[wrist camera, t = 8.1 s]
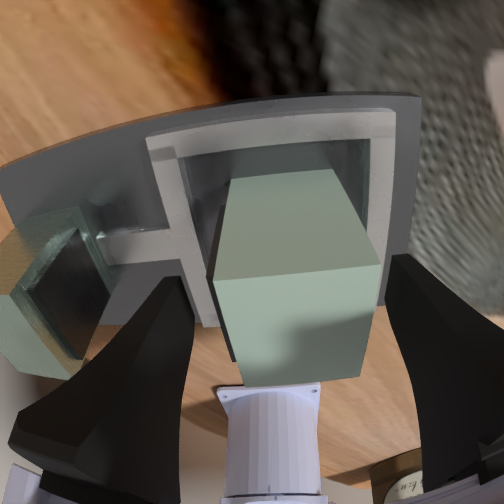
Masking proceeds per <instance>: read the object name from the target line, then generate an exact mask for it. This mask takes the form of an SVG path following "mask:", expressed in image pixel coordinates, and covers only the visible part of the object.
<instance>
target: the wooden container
mask: <svg viewBox="0 0 504 504" xmlns="http://www.w3.org/2000/svg"><path fill="white" fill-rule="evenodd" d="M370 479H371V486H372V496H373V503H374V504H387V503H391V502H395V501H399V500H403V499H406V498H410V497H413V496H417V495H420V494H423V487H422V450H421V448H418V449H415V450H411V451H408V452H406V453H403V454H400V455H397V456H395V457H392V458H390V459H388V460H385V461H383V462H381V463H379V464H377V465H375V466H374V467H372V468H371V469H370Z"/></svg>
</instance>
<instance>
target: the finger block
mask: <svg viewBox="0 0 504 504" xmlns="http://www.w3.org/2000/svg"><path fill="white" fill-rule="evenodd" d="M381 265H382V264H381V262H380V260H379V258H378V255H377V253H376V251H375V249H374V247H373V245H372V243H371V241H370V239H369V237H368V235H367V233H366V231H365V229H364V227H363V225H362V223H361V221H360V219H359V217H358V215H357V213H356V211H355V209H354V207H353V205H352V203H351V201H350V200H349V198H348V196H347V194H346V192H345V190H344V188H343V187H342V185H341V183H340V181H339V179H338V178H337V176H336V174H335V172H334V170H333V169H325V170H312V171H301V172H290V173H280V174H270V175H261V176H252V177H244V178H236V179H231V182H230V188H229V193H228V198H227V204H226V205H221V206H220V209H219V214H218V218H217V223H216V228H215V232H214V237H213V242H212V247H211V252H210V257H209V262H208V267H207V272H206V280H207V283H208V287H209V290H210V293H211V297H212V300H213V303H214V307H215V310H216V313H217V316H218V319H219V323H220V326H221V329H222V332H223V335H224V338H225V342H226V345H227V348H228V351H229V354H230V357H231V360H232V362H237V364H238V367H239V371H240V374H241V377H242V380H243V383H244V386H245V388H249V387H267V386H281V385H293V384H304V383H313V382H322V381H330V380H338V379H345V378H352V377H359V376H360V373H361V369H362V365H363V360H364V356H365V352H366V347H367V343H368V338H369V333H370V329H371V324H372V319H373V313H374V308H375V302H376V297H377V291H378V285H379V278H380V272H381Z"/></svg>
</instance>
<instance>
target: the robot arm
mask: <svg viewBox="0 0 504 504" xmlns="http://www.w3.org/2000/svg"><path fill="white" fill-rule="evenodd" d="M384 300H385V304H386V308H387V313H388V316H389V320H390V324H391V327H392V329H393V332H394V335H395V337H396V340H397V343H398V346H399V348H400V351H401V354H402V356H403V359H404V362H405V365H406V368H407V371H408V373H409V377H410V380H411V384H412V388H413V393H414V398H415V403H416V408H417V415H418V422H419V429H420V439H421V450H422V487H423V494H420V495H417V496H413V497H410V498H406V499H403V500H399V501H395V502H391V503H387V504H504V330H503V329H502V328H500V327H499V326H497V325H496V324H494V323H493V322H491V321H490V320H488V319H487V318H486V317H484V316H483V315H481V314H480V313H479V312H477V311H476V310H475V309H473V308H472V307H471V306H469V305H468V304H467V303H466V302H465V301H463V300H462V299H461V298H459V297H458V296H457V295H456V294H455V293H454V292H452V291H451V290H450V289H449V288H448V287H446V286H445V285H444V284H443V283H442V282H441V281H440V280H438V279H437V278H436V277H435V276H434V275H433V274H432V273H430V272H429V271H428V270H427V269H426V268H425V267H424V266H422V265H421V264H420V263H419V262H418V261H417V260H415V259H414V258H413V257H412V256H410V255H409V254H408V253H406V254H397V255H392V257H391V263H390V269H389V275H388V281H387V286H386V292H385V297H384ZM194 326H195V315H194V312H193V309H192V307H191V304H190V301H189V298H188V295H187V293H186V290H185V287H184V284H183V281H182V278H181V275H180V276H168V277H164V278H163V279H162V280H161V281H160V282H159V283H158V285H157V286H156V287H155V288H154V290H153V291H152V292H151V293H150V295H149V296H148V297H147V298H146V300H145V301H144V302H143V303H142V305H141V306H140V307H139V308H138V310H137V311H136V312H135V313H134V315H133V316H132V317H131V318H130V319H129V321H128V322H127V323H126V324H125V325H124V326H123V327H122V329H121V330H120V331H119V332H118V333H117V334H116V335H115V337H114V338H113V339H112V340H111V341H110V342H109V343H108V344H107V345H106V346H105V347H104V348H103V349H102V350H101V351H100V352H99V353H98V354H97V355H96V356H95V357H94V358H93V359H92V360H91V361H90V362H89V363H88V364H86V365H85V366H84V367H83V368H82V369H80V370H79V371H78V372H77V373H76V374H75V375H73V376H72V377H71V378H70V379H69V380H67V381H66V382H65V383H63V384H62V385H61V386H59V387H58V388H56V389H55V390H54V391H52V392H51V393H49V394H48V395H46V396H45V397H43V398H42V399H40V400H38V401H37V402H35V403H33V404H32V405H30V406H28V407H26V408H25V409H23V410H21V411H19V412H18V415H17V418H16V421H15V423H14V426H13V430H12V432H11V435H10V438H9V441H8V445H9V447H10V448H11V449H12V450H13V451H15V452H16V453H17V454H19V455H20V456H22V457H23V458H25V459H27V460H28V461H30V462H32V463H33V464H35V465H36V466H38V467H40V468H42V469H43V473H42V476H41V475H39V474H37V473H35V472H32V471H30V470H28V469H25V468H23V467H21V466H19V465H17V464H12V467H11V470H10V474H9V477H8V481H7V485H6V489H5V493H4V497H3V502H2V504H180V503H181V499H180V485H179V428H180V413H181V403H182V396H183V391H184V386H185V381H186V376H187V371H188V366H189V361H190V356H191V351H192V346H193V339H194ZM320 388H321V386H320V382H313V383H304V384H293V385H281V386H267V387H249V388H245V386H237V387H219V388H217V395H218V398H219V400H220V402H221V404H222V406H223V408H224V410H225V412H226V414H227V416H228V418H229V420H228V436H227V453H226V471H225V488H224V498H222V497H221V498H220V504H335V503H334V502H328V498H327V495H322V493H321V478H320V465H319V453H318V441H317V430H316V427H317V419H318V410H319V399H320Z"/></svg>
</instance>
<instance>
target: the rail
mask: <svg viewBox="0 0 504 504" xmlns="http://www.w3.org/2000/svg"><path fill="white" fill-rule="evenodd" d="M420 133H421V97H420V96H417V95H415V94H412V93H401V92H320V93H302V94H289V95H277V96H267V97H258V98H249V99H242V100H234V101H227V102H221V103H214V104H208V105H203V106H197V107H191V108H186V109H181V110H176V111H171V112H167V113H162V114H158V115H153V116H149V117H145V118H141V119H137V120H133V121H129V122H125V123H121V124H118V125H114V126H111V127H107V128H104V129H100V130H97V131H94V132H90V133H87V134H84V135H81V136H78V137H75V138H72V139H69V140H66V141H63V142H60V143H57V144H55V145H52V146H49V147H46V148H44V149H41V150H39V151H36V152H33V153H31V154H28V155H26V156H23V157H21V158H19V159H16V160H14V161H12V162H9V163H7V164H5V165H3V166H1V167H0V194H1V196H2V199H3V201H4V203H5V206H6V208H7V210H8V213H9V215H10V217H11V219H12V221H13V223H14V226H15V228H14V229H13V230H12V231H11V233H10V234H9V235H8V236H7V237H6V238H5V239H4V240H3V241H2V242H1V243H0V352H1V353H2V354H3V355H4V356H5V358H6V359H7V360H8V361H9V362H10V363H11V364H12V365H13V366H14V368H16V370H17V371H18V372H23V373H28V374H33V375H39V376H44V377H51V378H57V379H64V380H69V379H70V378H71V377H72V376H73V375H75V374H76V373H77V372H78V371H79V370H80V369H81V366H82V364H83V361H84V359H85V356H86V354H87V351H88V349H89V346H90V344H91V341H92V339H93V337H94V334H95V332H96V329H97V327H98V325H125V324H126V323H127V322H128V321H129V319H130V318H131V317H132V316H133V315H134V313H135V312H136V311H137V310H138V308H139V307H140V306H141V305H142V303H143V302H144V301H145V300H146V298H147V297H148V296H149V295H150V293H151V292H152V291H153V290H154V288H155V287H156V286H157V285H158V283H159V282H160V281H161V280H162V279H163V278H164V277H168V276H180V275H181V278H182V281H183V284H184V287H185V290H186V293H187V295H188V298H189V301H190V304H191V307H192V309H193V312H194V315H195V323H202V324H203V327H221V326H220V323H219V319H218V316H217V313H216V310H215V307H214V303H213V300H212V297H211V293H210V290H209V287H208V283H207V280H206V272H207V267H208V262H209V257H210V252H211V247H212V242H213V237H214V232H215V228H216V223H217V218H218V214H219V209H220V206H221V205H226V204H227V198H228V193H229V188H230V182H231V179H236V178H244V177H252V176H261V175H270V174H280V173H290V172H301V171H312V170H325V169H333V170H334V172H335V174H336V176H337V178H338V179H339V181H340V183H341V185H342V187H343V188H344V190H345V192H346V194H347V196H348V198H349V200H350V201H351V203H352V205H353V207H354V209H355V211H356V213H357V215H358V217H359V219H360V221H361V223H362V225H363V227H364V229H365V231H366V233H367V235H368V237H369V239H370V241H371V243H372V245H373V247H374V249H375V251H376V253H377V255H378V258H379V260H380V262H381V264H382V265H381V272H380V278H379V285H378V291H377V297H376V302H375V308H374V312H375V311H376V307H377V306H383V305H386V304H385V300H384V297H385V292H386V286H387V281H388V275H389V269H390V263H391V257H392V255H397V254H406V253H407V247H408V242H409V236H410V229H411V223H412V216H413V209H414V201H415V193H416V184H417V175H418V163H419V150H420Z"/></svg>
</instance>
